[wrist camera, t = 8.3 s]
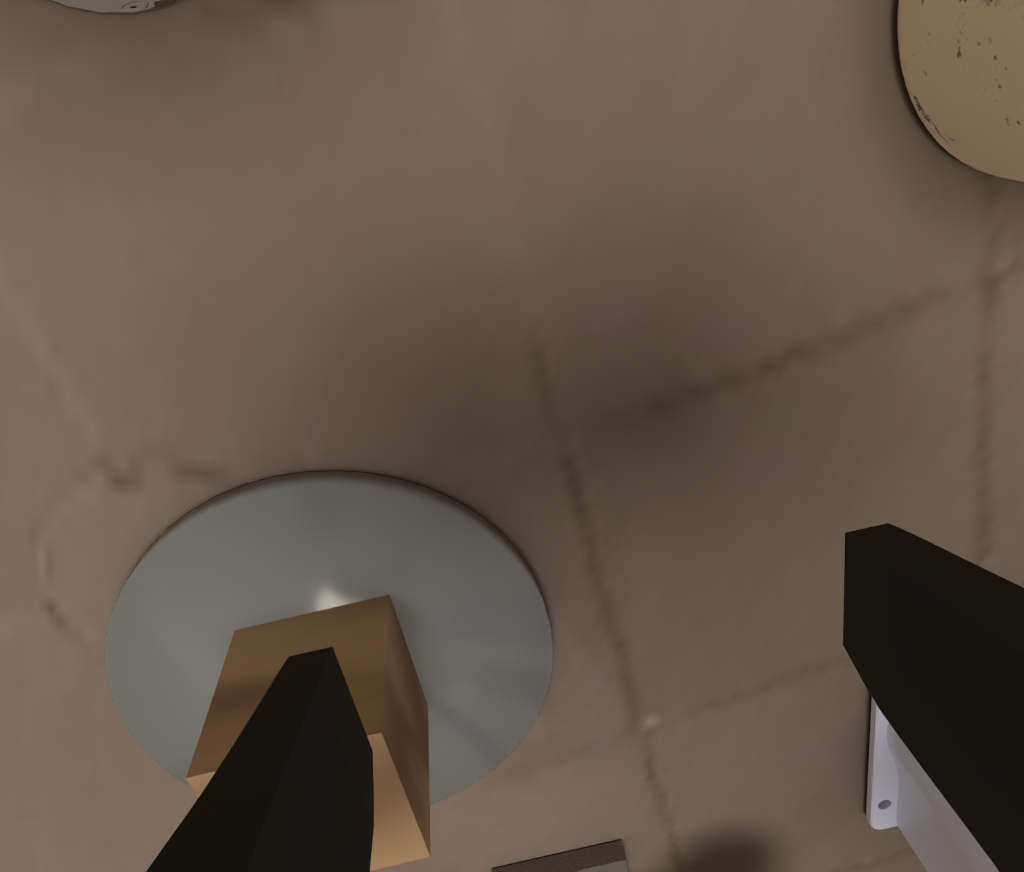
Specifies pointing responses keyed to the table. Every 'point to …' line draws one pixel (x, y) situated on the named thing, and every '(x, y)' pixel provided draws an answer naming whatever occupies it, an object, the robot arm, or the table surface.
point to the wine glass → (116, 5)
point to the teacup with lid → (968, 78)
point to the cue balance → (576, 861)
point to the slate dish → (330, 583)
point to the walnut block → (377, 696)
